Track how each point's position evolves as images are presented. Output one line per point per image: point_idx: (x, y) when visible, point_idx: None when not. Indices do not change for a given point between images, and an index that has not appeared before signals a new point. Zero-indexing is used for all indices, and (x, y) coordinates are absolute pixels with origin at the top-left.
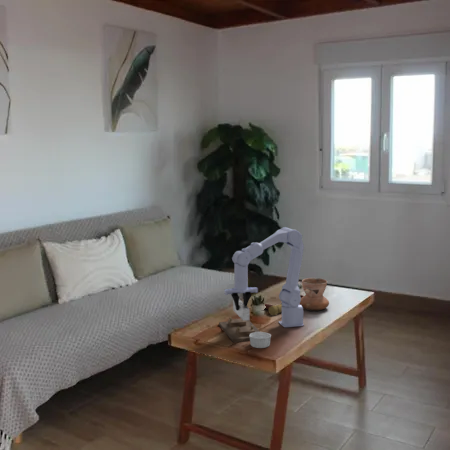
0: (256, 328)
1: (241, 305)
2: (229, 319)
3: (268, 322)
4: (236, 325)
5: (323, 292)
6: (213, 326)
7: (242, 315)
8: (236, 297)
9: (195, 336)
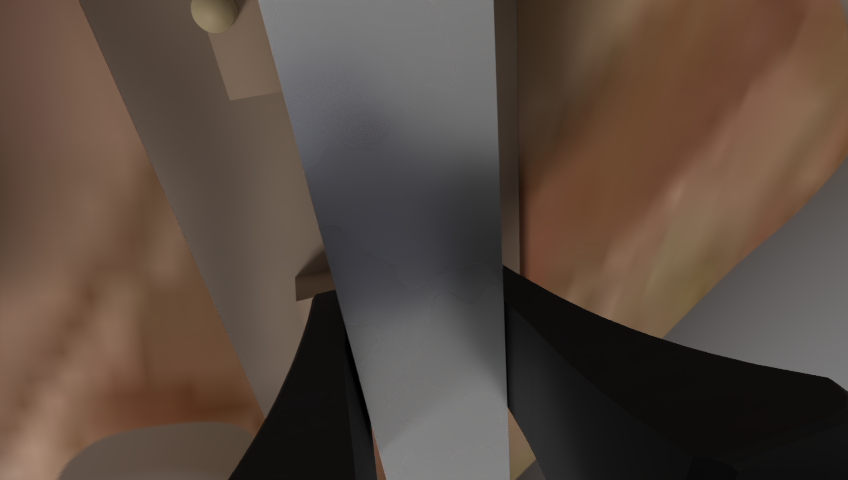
0: (170, 188)
1: (453, 266)
2: None
3: (62, 419)
4: None
5: None
6: None
7: None
8: (757, 403)
9: (762, 63)
